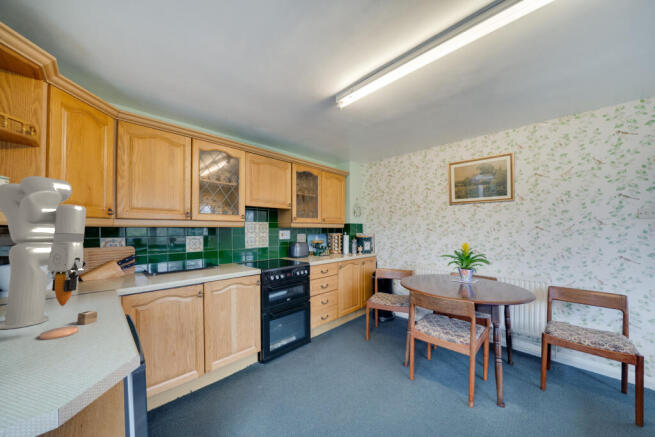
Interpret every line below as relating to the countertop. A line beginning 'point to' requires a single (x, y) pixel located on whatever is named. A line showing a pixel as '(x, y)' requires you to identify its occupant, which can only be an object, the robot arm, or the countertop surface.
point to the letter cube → (87, 317)
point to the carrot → (61, 289)
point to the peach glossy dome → (58, 332)
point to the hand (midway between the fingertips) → (64, 290)
